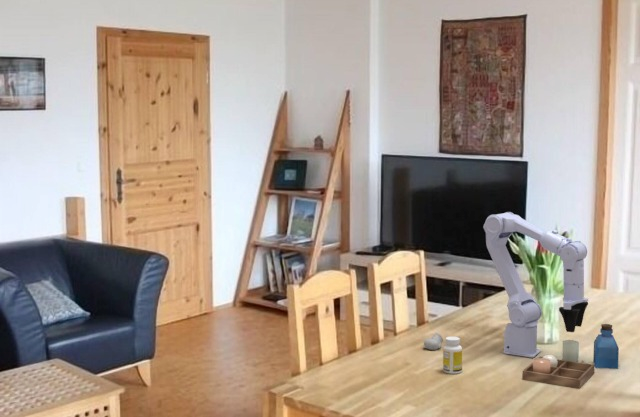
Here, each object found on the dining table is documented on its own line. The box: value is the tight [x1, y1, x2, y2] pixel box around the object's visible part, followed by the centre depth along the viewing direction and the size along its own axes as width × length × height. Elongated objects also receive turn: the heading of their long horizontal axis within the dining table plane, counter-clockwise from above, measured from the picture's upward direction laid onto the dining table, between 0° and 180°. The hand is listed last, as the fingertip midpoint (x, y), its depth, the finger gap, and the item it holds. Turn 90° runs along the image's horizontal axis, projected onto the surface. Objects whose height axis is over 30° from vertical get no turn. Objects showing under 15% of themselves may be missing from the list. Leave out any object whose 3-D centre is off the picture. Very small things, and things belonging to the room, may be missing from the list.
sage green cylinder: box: [561, 339, 580, 362], centre depth 253 cm, size 5×5×6 cm
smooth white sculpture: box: [423, 332, 444, 351], centre depth 271 cm, size 4×8×5 cm
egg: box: [542, 354, 558, 367], centre depth 247 cm, size 5×5×5 cm
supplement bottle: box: [442, 336, 463, 375], centre depth 247 cm, size 5×5×10 cm
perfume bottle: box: [592, 323, 620, 370], centre depth 251 cm, size 6×6×12 cm
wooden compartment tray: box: [521, 356, 596, 389], centre depth 242 cm, size 16×16×2 cm
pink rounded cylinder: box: [532, 357, 551, 374], centre depth 241 cm, size 5×5×5 cm
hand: (573, 328), depth 252 cm, fingers open, 7 cm apart
